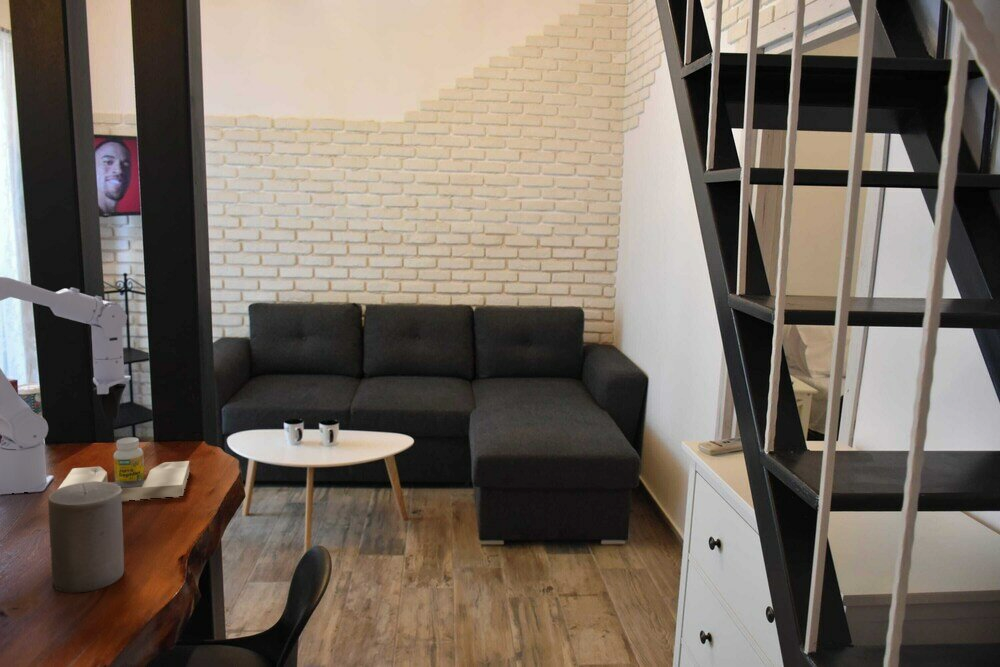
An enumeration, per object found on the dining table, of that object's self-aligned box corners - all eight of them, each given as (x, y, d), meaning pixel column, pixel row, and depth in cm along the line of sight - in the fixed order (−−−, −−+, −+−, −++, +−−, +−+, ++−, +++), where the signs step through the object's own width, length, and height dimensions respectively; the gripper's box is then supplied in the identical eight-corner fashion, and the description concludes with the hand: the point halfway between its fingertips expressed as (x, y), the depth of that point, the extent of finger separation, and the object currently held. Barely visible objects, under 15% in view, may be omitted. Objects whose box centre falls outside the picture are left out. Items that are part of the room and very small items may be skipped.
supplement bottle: (143, 479, 150) (141, 434, 148) (146, 487, 145) (144, 442, 144) (114, 483, 147) (112, 437, 145) (115, 492, 143) (113, 445, 141)
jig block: (54, 506, 135) (53, 493, 134) (73, 479, 148) (72, 467, 147) (182, 496, 142) (182, 483, 141) (189, 472, 155) (189, 460, 154)
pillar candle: (47, 598, 104) (41, 500, 102) (57, 567, 113) (52, 475, 110) (122, 587, 108) (119, 492, 105) (127, 558, 117) (124, 470, 114)
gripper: (122, 363, 148) (125, 427, 150) (134, 350, 161) (137, 408, 164) (84, 364, 146) (87, 429, 148) (99, 350, 159) (102, 410, 161)
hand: (111, 418), depth 156 cm, fingers closed
